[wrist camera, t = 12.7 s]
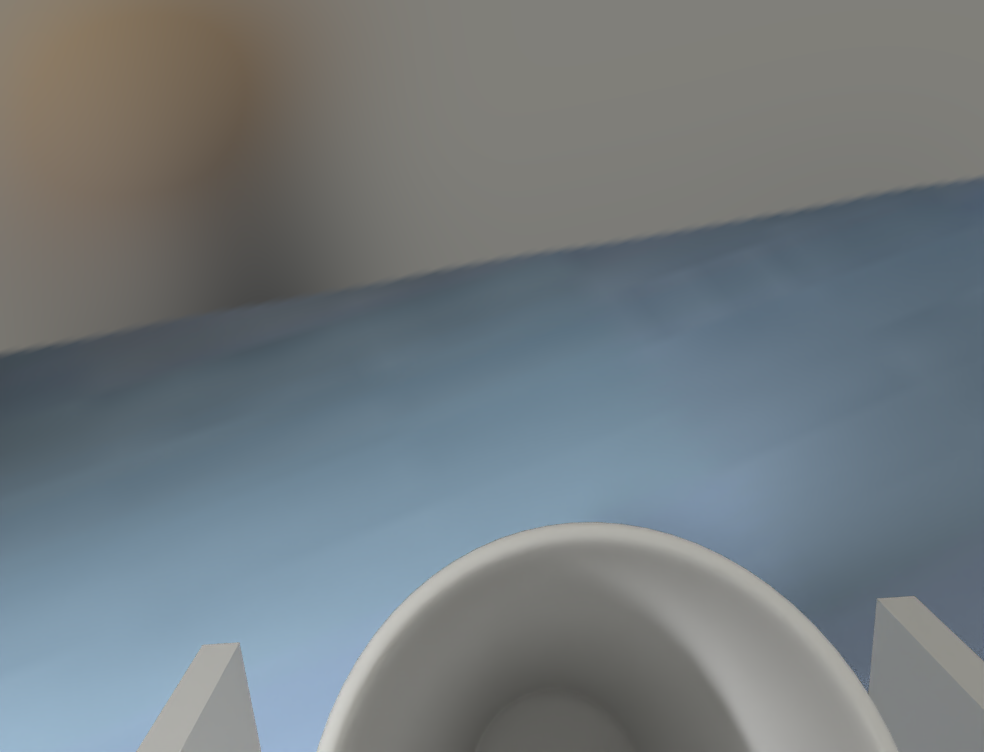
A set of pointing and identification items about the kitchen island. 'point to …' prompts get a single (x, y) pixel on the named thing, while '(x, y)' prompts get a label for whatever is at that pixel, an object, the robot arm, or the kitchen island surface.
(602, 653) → the white cup
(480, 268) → the kitchen island surface
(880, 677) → the robot arm
